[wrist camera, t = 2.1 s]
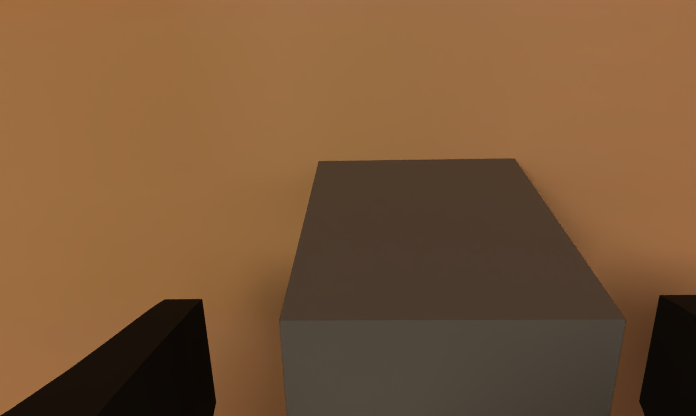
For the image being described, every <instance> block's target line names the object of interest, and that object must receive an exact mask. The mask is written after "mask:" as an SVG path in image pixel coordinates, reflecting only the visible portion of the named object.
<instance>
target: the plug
mask: <svg viewBox="0 0 696 416" xmlns="http://www.w3.org/2000/svg"><path fill="white" fill-rule="evenodd" d="M279 322H280V334H281V347H282V360H283V372H284V385H285V397H286V410H287V416H610V410H611V404H612V399H613V393H614V387H615V381H616V375H617V369H618V363H619V357H620V352H621V346H622V340H623V334H624V328H625V322H626V319H625V318H624V316H623V315H622V313H621V312H620V310H619V309H618V307H617V306H616V305H615V303H614V302H613V300H612V299H611V297H610V296H609V294H608V293H607V292H606V290H605V289H604V287H603V286H602V284H601V283H600V281H599V280H598V279H597V277H596V276H595V274H594V273H593V271H592V270H591V268H590V267H589V266H588V264H587V263H586V261H585V260H584V258H583V257H582V255H581V254H580V253H579V251H578V250H577V248H576V247H575V245H574V244H573V242H572V241H571V240H570V238H569V237H568V235H567V234H566V232H565V231H564V229H563V228H562V227H561V225H560V224H559V222H558V221H557V219H556V218H555V216H554V215H553V214H552V212H551V211H550V209H549V208H548V206H547V205H546V203H545V202H544V201H543V199H542V198H541V196H540V195H539V193H538V192H537V190H536V189H535V188H534V186H533V185H532V183H531V182H530V180H529V179H528V177H527V176H526V175H525V173H524V172H523V170H522V169H521V167H520V166H519V164H518V163H517V162H516V160H515V159H446V160H375V161H319V162H318V166H317V171H316V175H315V179H314V183H313V187H312V191H311V195H310V199H309V203H308V207H307V211H306V215H305V219H304V223H303V227H302V231H301V235H300V239H299V243H298V247H297V252H296V256H295V260H294V264H293V268H292V272H291V276H290V280H289V284H288V288H287V292H286V296H285V300H284V304H283V308H282V312H281V316H280V320H279Z"/></svg>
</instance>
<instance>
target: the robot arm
mask: <svg viewBox="0 0 696 416" xmlns="http://www.w3.org/2000/svg"><path fill="white" fill-rule="evenodd" d="M639 402H640V404H641V407H642V409H643V412H644V415H645V416H696V295H660V296H659V301H658V307H657V312H656V317H655V322H654V327H653V332H652V338H651V343H650V348H649V353H648V358H647V364H646V369H645V374H644V379H643V384H642V389H641V395H640V400H639ZM215 405H216V398H215V391H214V383H213V376H212V368H211V361H210V354H209V346H208V339H207V331H206V324H205V317H204V309H203V302H202V299H165V300H163V301H162V302H160V303H158V304H157V305H155V306H154V307H152V308H151V309H150V310H148V311H147V312H146V313H144V314H143V315H141V316H140V317H139V318H137V319H136V320H135V321H133V322H132V323H131V324H129V325H128V326H127V327H125V328H124V329H123V330H122V331H120V332H119V333H118V334H116V335H115V336H114V337H112V338H111V339H110V340H108V341H107V342H106V343H104V344H103V345H101V346H100V347H99V348H97V349H96V350H95V351H93V352H92V353H91V354H89V355H88V356H87V357H85V358H84V359H83V360H81V361H80V362H79V363H77V364H76V365H75V366H73V367H72V368H70V369H69V370H67V371H66V372H65V373H63V374H62V375H60V376H59V377H57V378H56V379H54V380H53V381H51V382H50V383H48V384H47V385H45V386H44V387H42V388H41V389H40V390H38V391H37V392H35V393H34V394H32V395H31V396H29V397H28V398H26V399H25V400H23V401H22V402H20V403H19V404H17V405H16V406H15V407H13V408H12V409H10V410H9V411H7V412H5V413H4V414H2V415H1V416H213V415H214V410H215Z"/></svg>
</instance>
